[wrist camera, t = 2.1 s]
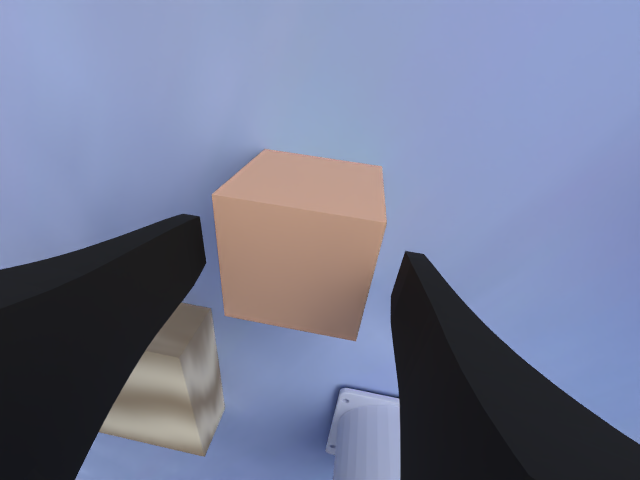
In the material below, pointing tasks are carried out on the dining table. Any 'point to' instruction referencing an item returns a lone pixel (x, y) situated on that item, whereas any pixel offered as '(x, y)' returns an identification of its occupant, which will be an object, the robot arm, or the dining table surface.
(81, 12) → the dining table surface
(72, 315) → the robot arm
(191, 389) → the birch base block
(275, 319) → the terracotta cube
